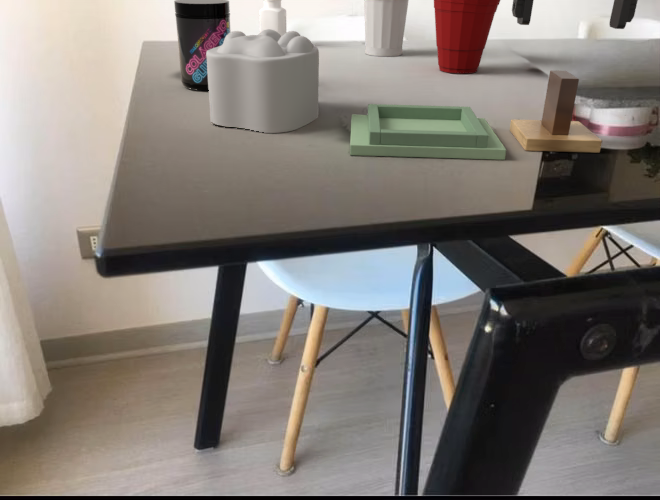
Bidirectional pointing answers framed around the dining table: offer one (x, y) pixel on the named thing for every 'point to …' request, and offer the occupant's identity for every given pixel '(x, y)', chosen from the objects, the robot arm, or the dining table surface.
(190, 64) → the supplement container
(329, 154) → the dining table surface
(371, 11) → the cup
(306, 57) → the lumpy-topped squat cylinder
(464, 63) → the plastic cup
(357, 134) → the base pad
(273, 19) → the pepper shaker
